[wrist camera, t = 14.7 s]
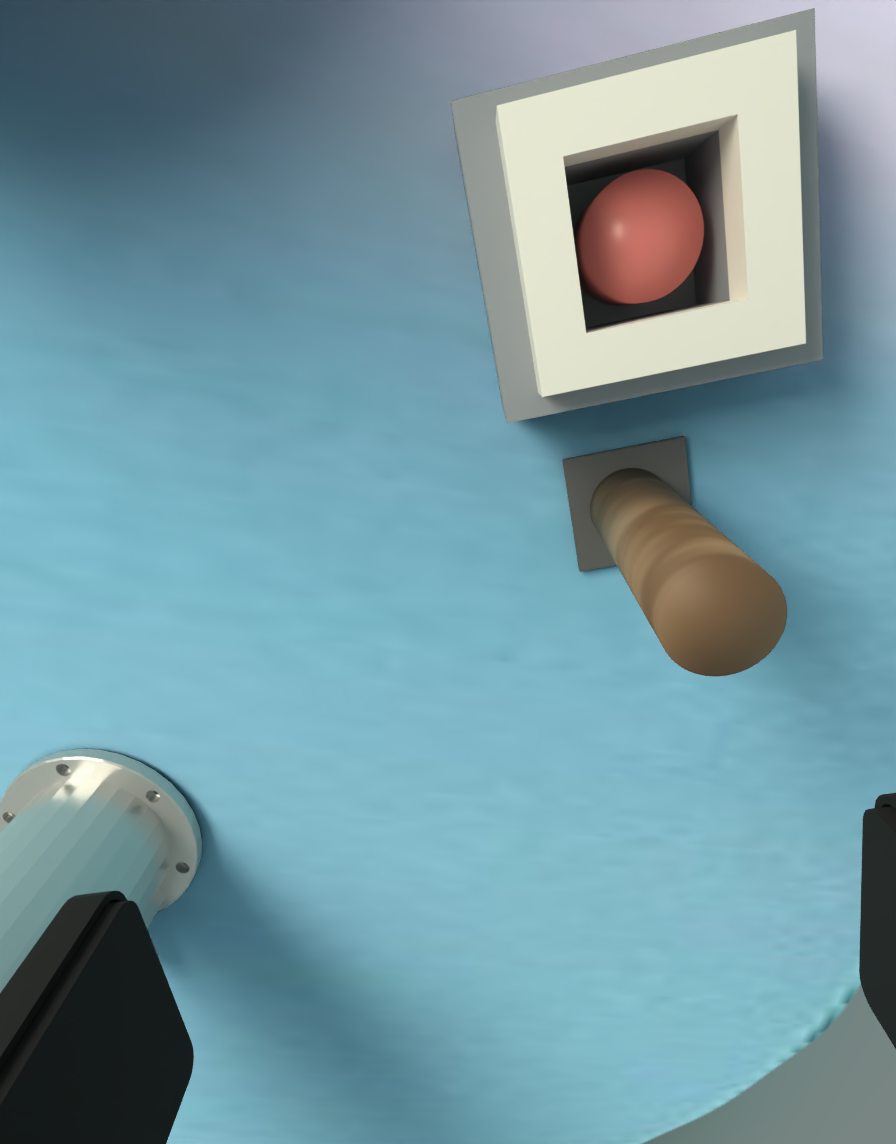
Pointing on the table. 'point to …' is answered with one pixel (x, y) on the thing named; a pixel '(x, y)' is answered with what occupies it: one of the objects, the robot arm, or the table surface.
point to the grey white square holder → (671, 144)
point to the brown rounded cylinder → (688, 576)
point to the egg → (638, 238)
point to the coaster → (593, 468)
